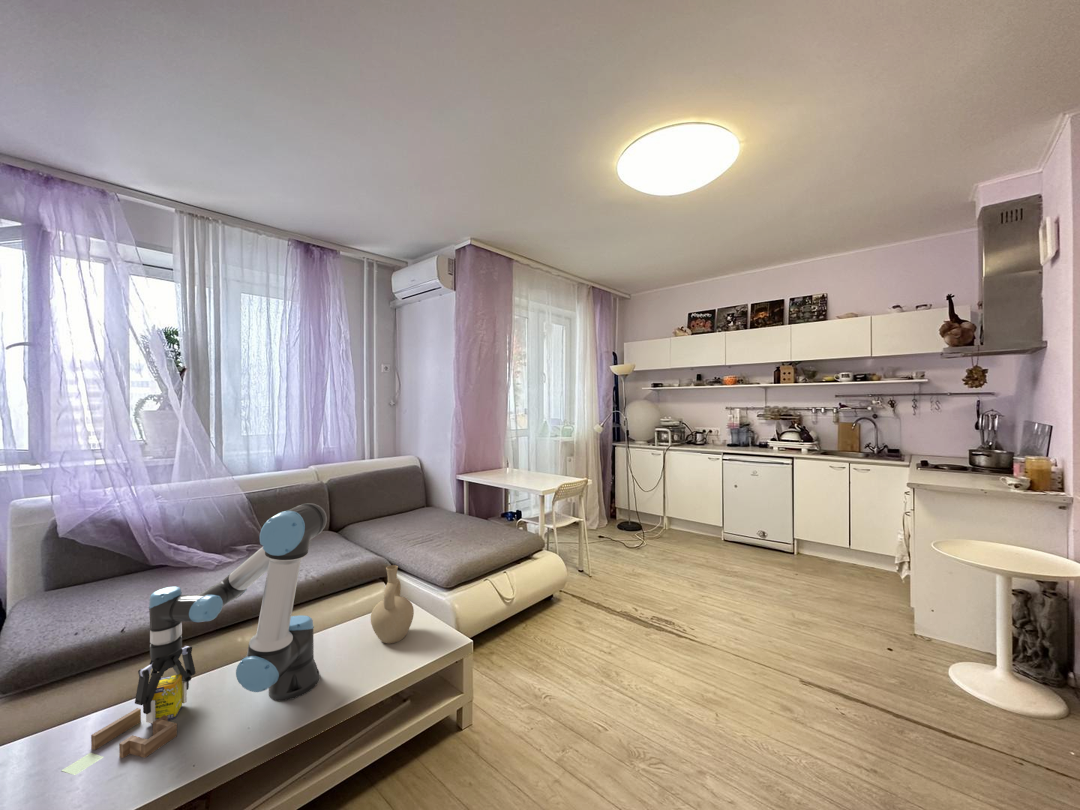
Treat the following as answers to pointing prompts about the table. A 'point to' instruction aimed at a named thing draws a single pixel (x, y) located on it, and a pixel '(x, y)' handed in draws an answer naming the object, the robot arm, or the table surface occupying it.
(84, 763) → the pad
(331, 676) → the table surface
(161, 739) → the tunnel rails
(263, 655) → the robot arm
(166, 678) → the supplement box
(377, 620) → the vase
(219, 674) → the table surface
